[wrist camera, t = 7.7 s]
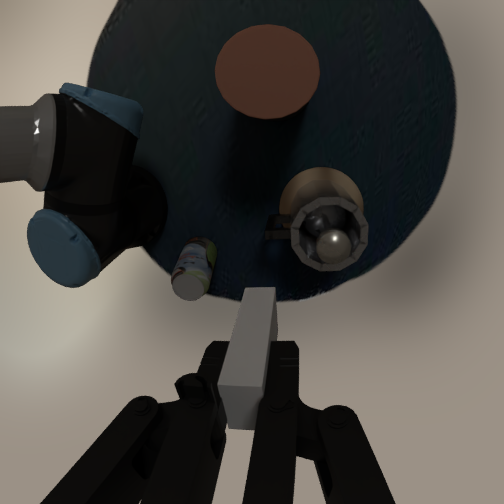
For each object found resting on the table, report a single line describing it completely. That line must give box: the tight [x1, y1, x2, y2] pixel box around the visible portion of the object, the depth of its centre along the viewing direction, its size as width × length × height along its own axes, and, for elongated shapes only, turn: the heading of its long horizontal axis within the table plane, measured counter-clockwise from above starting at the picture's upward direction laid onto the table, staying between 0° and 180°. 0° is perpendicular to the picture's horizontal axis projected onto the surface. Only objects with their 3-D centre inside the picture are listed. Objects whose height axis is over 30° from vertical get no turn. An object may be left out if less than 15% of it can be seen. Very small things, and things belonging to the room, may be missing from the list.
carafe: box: [265, 180, 368, 271], centre depth 44 cm, size 13×10×12 cm
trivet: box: [279, 167, 363, 228], centre depth 50 cm, size 14×14×1 cm
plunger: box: [303, 205, 351, 264], centre depth 40 cm, size 7×7×13 cm
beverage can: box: [171, 237, 217, 301], centre depth 50 cm, size 6×7×12 cm
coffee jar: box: [215, 24, 320, 122], centre depth 35 cm, size 11×11×18 cm
